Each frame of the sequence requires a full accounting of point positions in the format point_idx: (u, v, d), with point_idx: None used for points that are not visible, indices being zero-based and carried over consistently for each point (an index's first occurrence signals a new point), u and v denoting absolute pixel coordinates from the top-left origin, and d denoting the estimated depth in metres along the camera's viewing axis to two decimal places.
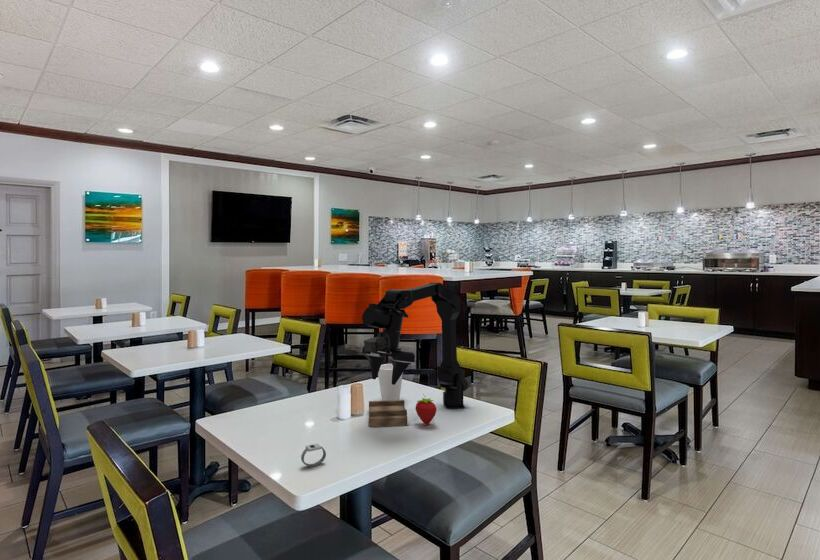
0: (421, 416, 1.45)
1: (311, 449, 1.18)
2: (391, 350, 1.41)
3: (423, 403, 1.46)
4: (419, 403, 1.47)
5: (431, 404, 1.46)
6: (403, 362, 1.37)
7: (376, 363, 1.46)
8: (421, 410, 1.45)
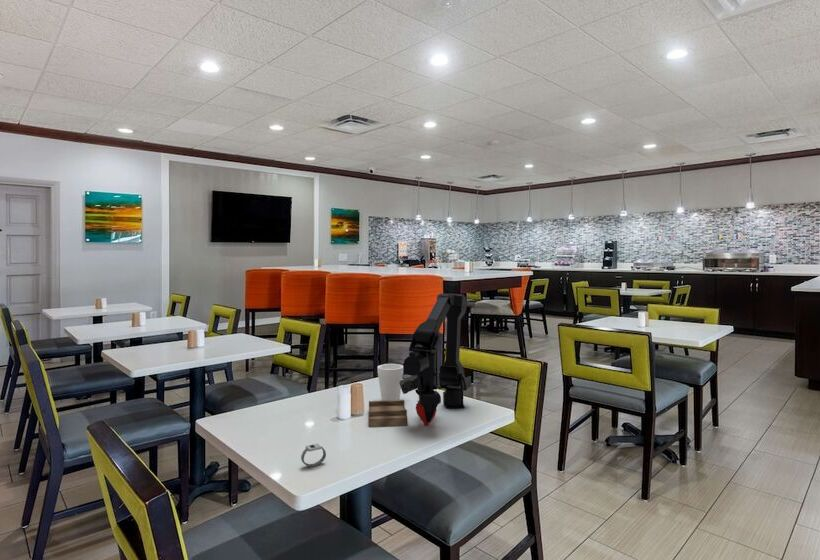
0: (421, 416, 1.45)
1: (311, 449, 1.18)
2: (424, 389, 1.44)
3: None
4: (419, 403, 1.47)
5: None
6: None
7: None
8: (421, 411, 1.45)
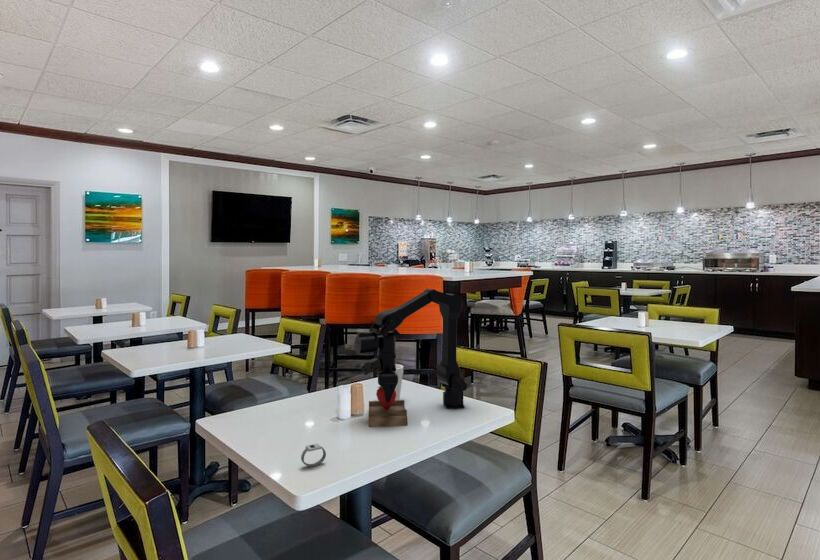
0: (381, 401, 1.53)
1: (311, 449, 1.18)
2: (383, 370, 1.52)
3: None
4: (379, 389, 1.54)
5: None
6: (386, 383, 1.47)
7: None
8: (381, 396, 1.52)
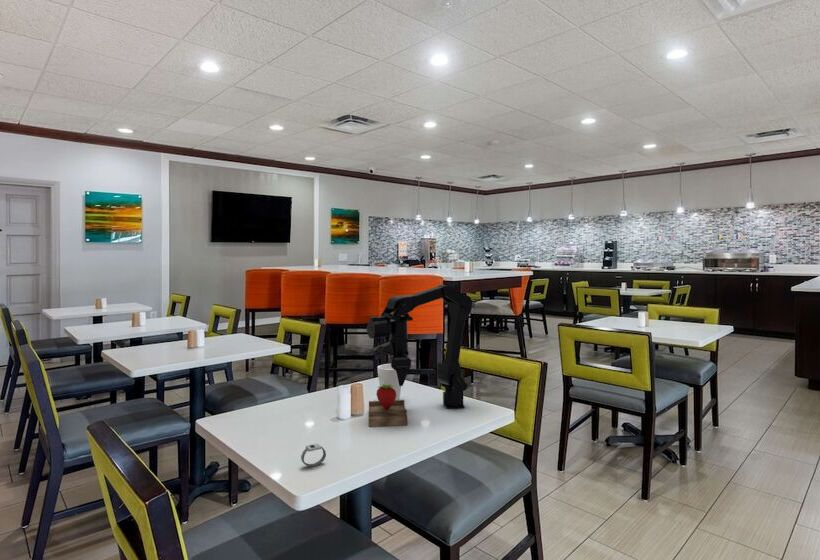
0: (381, 401, 1.53)
1: (311, 449, 1.18)
2: (396, 354, 1.53)
3: (383, 389, 1.53)
4: (380, 389, 1.54)
5: (391, 390, 1.53)
6: (399, 367, 1.47)
7: None
8: (381, 396, 1.52)
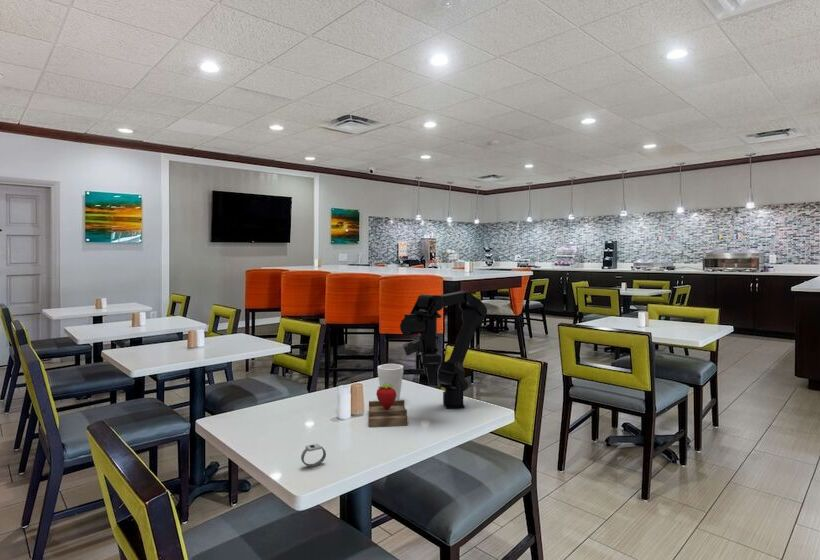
0: (381, 401, 1.53)
1: (311, 449, 1.18)
2: (426, 351, 1.55)
3: (383, 389, 1.53)
4: (380, 389, 1.54)
5: (391, 390, 1.53)
6: (430, 363, 1.50)
7: None
8: (381, 396, 1.52)
